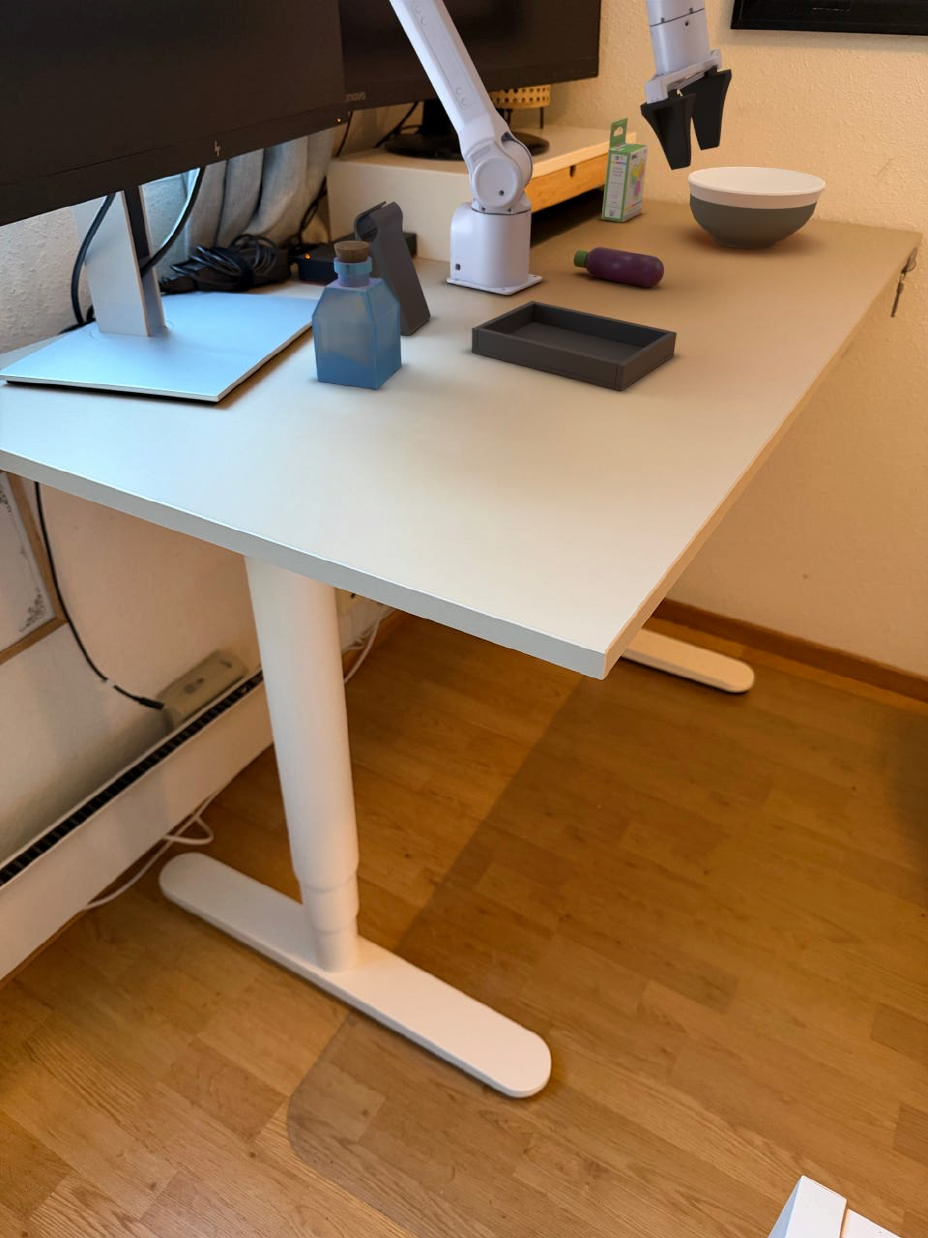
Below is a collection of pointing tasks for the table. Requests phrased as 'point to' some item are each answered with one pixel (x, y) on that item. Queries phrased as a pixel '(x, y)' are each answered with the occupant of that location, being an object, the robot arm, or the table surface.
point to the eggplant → (621, 266)
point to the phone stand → (393, 262)
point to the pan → (575, 344)
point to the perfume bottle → (356, 323)
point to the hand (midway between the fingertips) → (695, 157)
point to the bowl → (752, 203)
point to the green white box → (623, 176)
